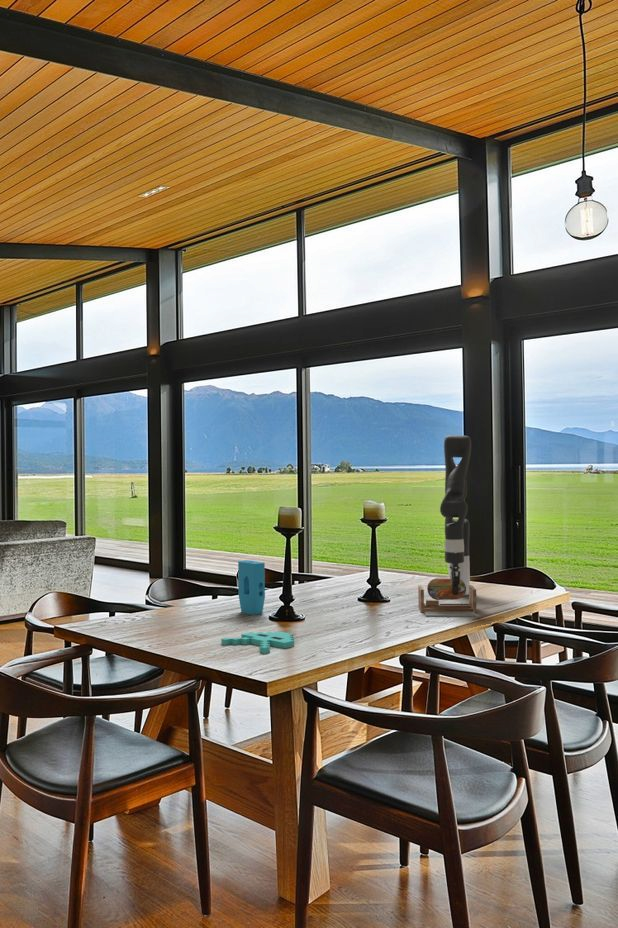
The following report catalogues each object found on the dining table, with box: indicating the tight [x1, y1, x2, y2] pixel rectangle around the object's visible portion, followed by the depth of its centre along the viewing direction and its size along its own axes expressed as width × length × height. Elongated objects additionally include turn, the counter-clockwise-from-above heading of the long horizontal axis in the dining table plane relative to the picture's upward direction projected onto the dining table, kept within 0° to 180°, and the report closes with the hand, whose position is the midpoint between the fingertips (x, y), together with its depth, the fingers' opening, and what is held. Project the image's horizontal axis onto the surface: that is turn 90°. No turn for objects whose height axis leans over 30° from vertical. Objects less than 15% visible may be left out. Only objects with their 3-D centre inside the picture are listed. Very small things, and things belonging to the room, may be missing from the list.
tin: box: [426, 577, 466, 601], centre depth 307 cm, size 15×3×8 cm, turn 88°
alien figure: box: [220, 631, 295, 655], centre depth 254 cm, size 20×2×20 cm
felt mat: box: [424, 612, 477, 618], centre depth 298 cm, size 7×19×1 cm, turn 87°
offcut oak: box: [425, 599, 440, 605], centre depth 312 cm, size 2×5×2 cm, turn 83°
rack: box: [417, 584, 477, 614], centre depth 308 cm, size 11×21×9 cm, turn 87°
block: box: [237, 559, 266, 616], centre depth 307 cm, size 12×5×20 cm, turn 41°
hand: (454, 593), depth 307 cm, fingers closed on tin, 2 cm apart
